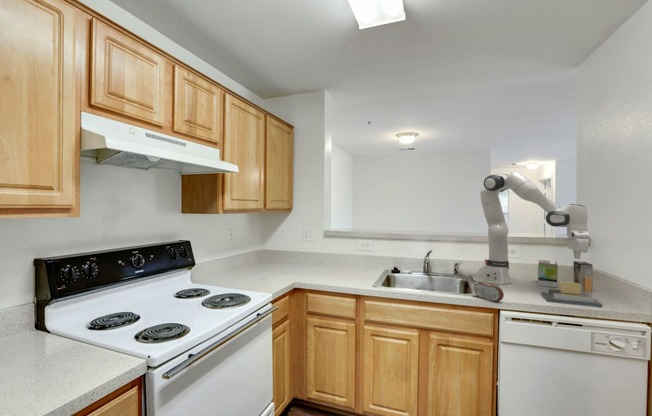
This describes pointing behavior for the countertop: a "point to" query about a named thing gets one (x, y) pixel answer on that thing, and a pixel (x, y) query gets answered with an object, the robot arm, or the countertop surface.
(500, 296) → the tin
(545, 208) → the robot arm
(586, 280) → the sliding jaw
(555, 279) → the tea box
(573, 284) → the brass block
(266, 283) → the countertop surface
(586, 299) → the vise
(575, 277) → the coffee box
